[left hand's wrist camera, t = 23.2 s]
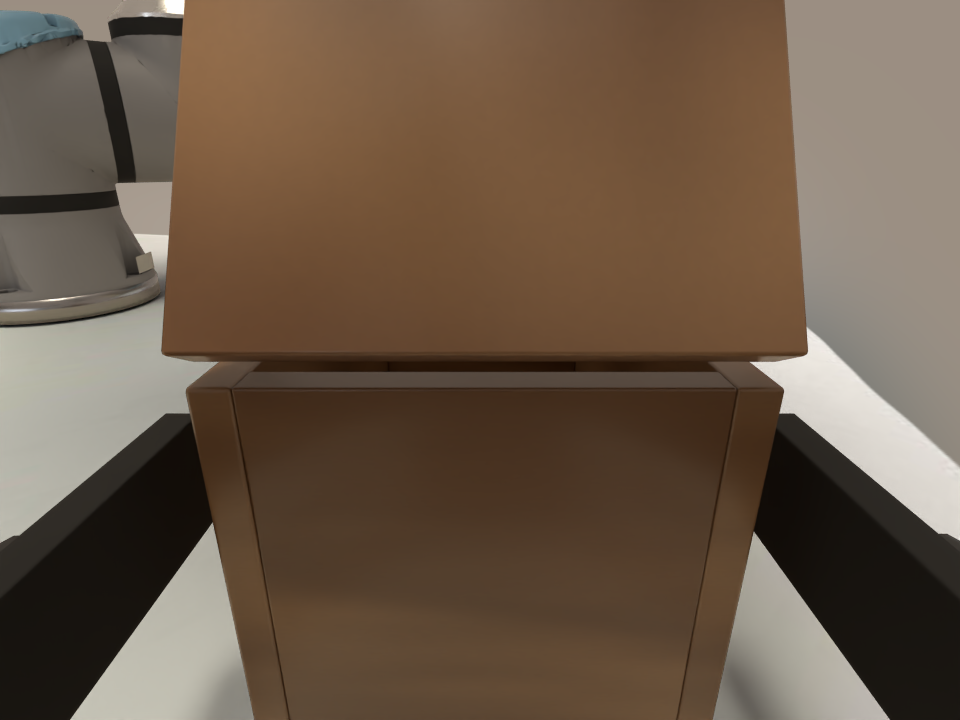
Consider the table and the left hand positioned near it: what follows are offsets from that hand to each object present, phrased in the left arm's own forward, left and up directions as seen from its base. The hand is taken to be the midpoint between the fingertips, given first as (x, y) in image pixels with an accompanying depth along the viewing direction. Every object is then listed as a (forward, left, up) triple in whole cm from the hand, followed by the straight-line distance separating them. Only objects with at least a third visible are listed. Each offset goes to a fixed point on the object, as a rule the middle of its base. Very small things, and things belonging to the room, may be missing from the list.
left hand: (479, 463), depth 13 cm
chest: (+4, +1, -6) cm, 8 cm away
